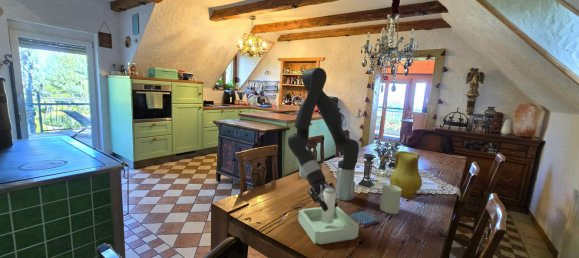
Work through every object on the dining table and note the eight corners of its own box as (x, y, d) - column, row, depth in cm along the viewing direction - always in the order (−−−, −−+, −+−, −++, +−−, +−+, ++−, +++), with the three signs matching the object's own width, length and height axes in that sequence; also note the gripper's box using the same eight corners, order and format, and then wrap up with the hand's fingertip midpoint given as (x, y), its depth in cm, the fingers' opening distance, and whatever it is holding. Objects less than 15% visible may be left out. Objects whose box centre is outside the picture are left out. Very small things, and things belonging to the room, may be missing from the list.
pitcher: (387, 195, 147) (394, 152, 144) (388, 186, 164) (394, 148, 161) (421, 202, 141) (428, 158, 138) (417, 192, 158) (424, 152, 155)
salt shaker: (329, 216, 112) (332, 186, 110) (335, 222, 107) (338, 191, 105) (318, 217, 110) (321, 186, 108) (323, 224, 105) (326, 192, 103)
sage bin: (335, 215, 121) (336, 205, 120) (358, 238, 103) (360, 226, 102) (297, 219, 115) (298, 209, 114) (315, 245, 97) (316, 232, 96)
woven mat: (362, 213, 126) (362, 209, 125) (379, 223, 116) (380, 219, 116) (346, 217, 120) (346, 213, 120) (362, 229, 111) (363, 224, 111)
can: (398, 207, 133) (401, 185, 131) (399, 215, 125) (402, 192, 123) (379, 204, 136) (382, 182, 134) (379, 211, 127) (382, 188, 126)
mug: (302, 178, 168) (303, 163, 167) (296, 174, 176) (297, 160, 174) (318, 177, 173) (319, 162, 172) (312, 172, 181) (313, 159, 179)
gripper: (305, 171, 106) (324, 209, 99) (329, 166, 115) (348, 201, 108) (296, 179, 111) (314, 216, 104) (319, 174, 120) (337, 208, 113)
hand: (331, 208), depth 106 cm, fingers closed on salt shaker, 5 cm apart
